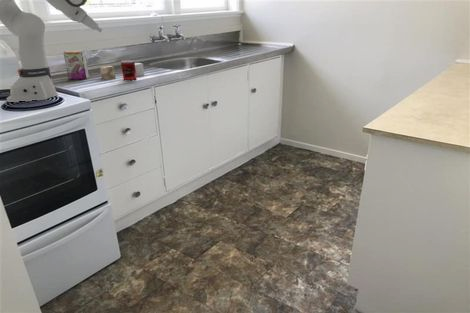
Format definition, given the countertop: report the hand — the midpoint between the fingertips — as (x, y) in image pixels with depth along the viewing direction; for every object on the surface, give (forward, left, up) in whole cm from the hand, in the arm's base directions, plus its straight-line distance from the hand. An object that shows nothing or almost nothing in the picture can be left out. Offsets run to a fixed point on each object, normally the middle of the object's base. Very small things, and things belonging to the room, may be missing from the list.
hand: (97, 28), depth 191 cm
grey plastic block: (+22, +18, -30) cm, 41 cm away
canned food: (+14, +4, -30) cm, 34 cm away
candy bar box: (-12, +27, -30) cm, 42 cm away
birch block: (+4, +18, -30) cm, 35 cm away
